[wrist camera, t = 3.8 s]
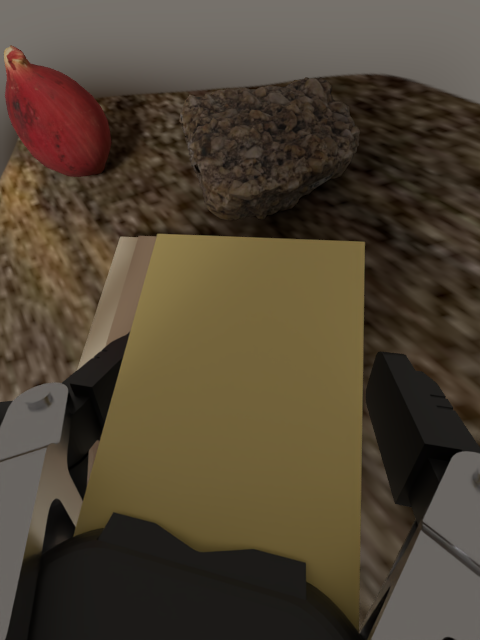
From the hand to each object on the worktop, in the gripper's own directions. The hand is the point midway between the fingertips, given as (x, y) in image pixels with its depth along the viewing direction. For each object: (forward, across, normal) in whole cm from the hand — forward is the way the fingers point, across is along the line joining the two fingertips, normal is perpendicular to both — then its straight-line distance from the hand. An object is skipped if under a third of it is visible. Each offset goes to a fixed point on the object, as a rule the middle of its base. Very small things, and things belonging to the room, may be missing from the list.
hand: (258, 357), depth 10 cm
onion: (+14, +16, -6) cm, 22 cm away
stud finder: (+2, 0, +4) cm, 4 cm away
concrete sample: (+14, +1, -6) cm, 16 cm away
